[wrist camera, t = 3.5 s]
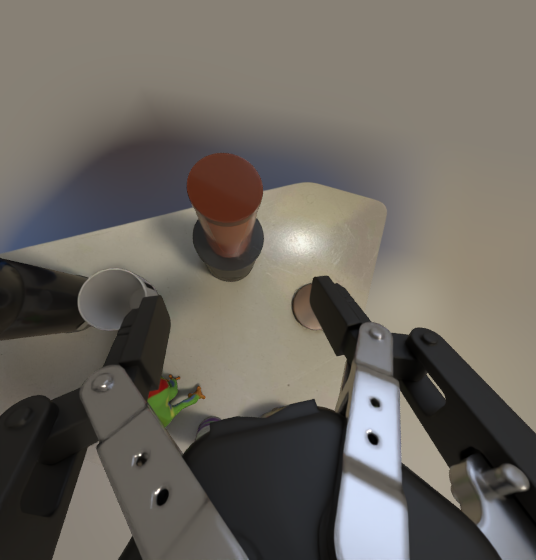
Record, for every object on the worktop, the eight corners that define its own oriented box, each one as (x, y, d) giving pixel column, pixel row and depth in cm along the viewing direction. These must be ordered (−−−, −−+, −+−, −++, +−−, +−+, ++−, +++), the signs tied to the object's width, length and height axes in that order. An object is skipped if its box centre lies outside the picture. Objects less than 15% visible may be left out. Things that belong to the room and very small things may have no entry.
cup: (177, 291, 39) (158, 285, 29) (153, 333, 37) (124, 341, 27) (135, 271, 38) (101, 257, 28) (109, 312, 36) (63, 313, 27)
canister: (196, 242, 28) (170, 193, 17) (222, 206, 30) (215, 138, 18) (235, 267, 29) (236, 237, 17) (260, 231, 30) (276, 180, 18)
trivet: (284, 313, 41) (285, 313, 40) (306, 275, 43) (308, 274, 42) (322, 338, 42) (324, 338, 41) (343, 299, 43) (345, 299, 43)
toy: (196, 352, 38) (183, 367, 28) (208, 404, 37) (199, 437, 27) (107, 380, 35) (58, 407, 25) (118, 436, 34) (72, 487, 24)
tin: (194, 264, 40) (177, 245, 28) (223, 224, 42) (219, 191, 30) (237, 292, 40) (239, 284, 29) (264, 251, 42) (276, 228, 30)
